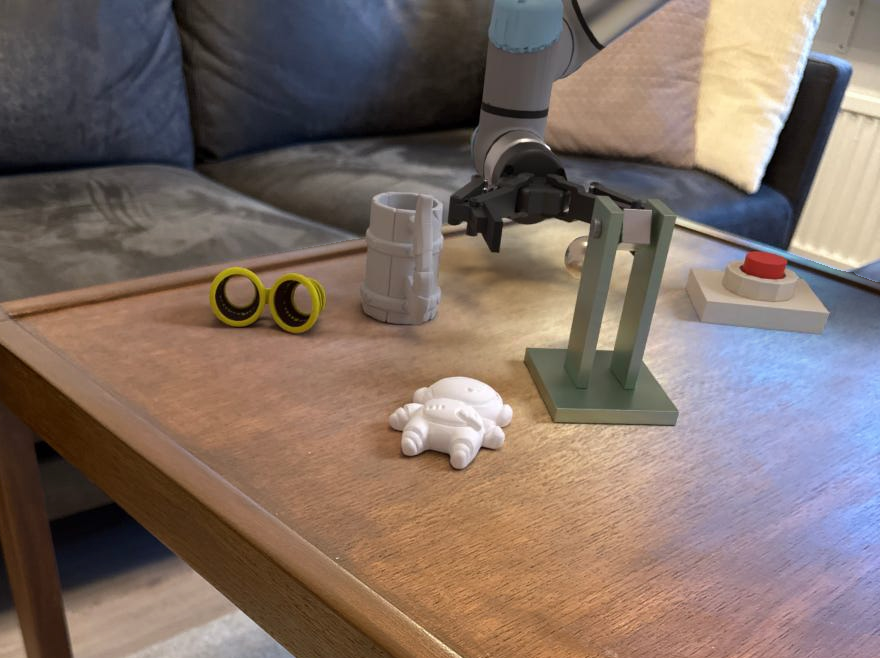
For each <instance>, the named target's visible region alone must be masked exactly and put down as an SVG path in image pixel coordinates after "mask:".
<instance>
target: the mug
mask: <svg viewBox="0 0 880 658" xmlns="http://www.w3.org/2000/svg"><path fill="white" fill-rule="evenodd" d="M370 205H371V206H370V217H369V227H368V228H367V229H366V231H365V243H366V245H367V250H366V261H365V271H364V278H363V280H362V281H361V283H360V285H359V286H360V287H359V295H360V297H361V300H362V310H363V312H364V313H365V314H366V315H367V316H369V317H370V318H373V319H375V320H376V321H381V322H383V323H385V322H387V323H389V324H395V325H413V326H419V325H422V324H423V323H427V322H429V320H433V319H434V318H435V317H436V315H437V310H438V309H437V308H438V306H439V305H440V303H441V300H442V289H441V288H440V286H439V276H440V275H439V274H440V262H441V261H440V260H441V252H442V251H443V249H444V240H445V238H444V235H443V233H442V227H443V226H442V225H443V211H444V204H443V203H442V202H441V201H440V200H438V199H437V198H436V197H434V196H433V195H430V194H424V193H418V192H404V191H403V192H402V191H401V192H400V191H398V192H397V191H386V192H381V193H378V194H376V195H373V197H372V199H371V204H370Z"/></svg>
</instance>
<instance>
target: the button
mask: <svg viewBox="0 0 880 658" xmlns="http://www.w3.org/2000/svg"><path fill="white" fill-rule="evenodd" d="M744 260H745V261H744V264H743V268H742V272H744V273H746V274H748V275H751V276H754V277H758V278H763V279H773V280H777V279H782V277H783V274H784V271H785V268H787V265H788V260H787V258H785V257H784V256H782V255H779V254H777V253H773V252H767V251H756V250H755V251H749V252H747V253H746V254H745V257H744Z"/></svg>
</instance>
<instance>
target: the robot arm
mask: <svg viewBox="0 0 880 658" xmlns="http://www.w3.org/2000/svg"><path fill="white" fill-rule="evenodd" d="M672 1H673V0H494V1H493V2H494V3H493V8H492V14H491V19H490V24H489V26H488V36H487V37H488V43H487V44H488V45H487V51H486V52H487V53H486V64H485V73H484V82H483V91H482V100H481V107H480V112H479V113H480V114H479V122H478V125H477V126H476V127H475V129H474V132H473V133H472V136H471V141H470V154H471V161H472V163H473V167H474V169H475V174H472V175H471V177H470V181H469V182H468V183H466V184H465V185H464V186H462V187H461V188H459V189H458V190H456V191H455V192H454V193H452V194H451V195H450V196H449V204H448V214H447V224H448V225H450V226H452V227H455V226H460V225H461V224H462V223H463V222H465V223H466V229H465V236H468V237H478V234H481V236H482V238H483V240H484V242H485V244H486V245H487V248H488V250H489V251H490V253H492V254H500V251H501V242H502V236H503V229H504V220H503V219H507V220H510V221H512V222H514V223H516V224H520V225H526V226H529V225H536V224H539V223H542V222H544V221H546V220H552V219H556V220H559V221H562V222H565V223H567V224H571V223H574V222H578V221H579V222H581V223H585V224H588V225H590V224H591V220H592V215H593V210H594V204H595V199H596V196H609V198H610V199H611V200H612V201H613V202H614V203H615V204H616V205H617V206H618V207H619V208H620V209H621V210H623V209H641V210H644V209H645V205H646V202H643V200H642V199H640V198H639V199H635V198H633V197H631V196H629V195H625V194H623V193H620V192H618V191H616V190H613V189H611V188H608V187H607V186H606V185H604V184H602V183H601V182H599V181H591V182H590V183H589V186H588V189H586V188H585V186H584V185H582V184H579V183H575V182H572V181H570V180H568V176H567V172H566V170H565V167H564V165H563V163H562V161H561V160H560V159H559V157H558V156H557V155H556V154H555V153H554V152H553V151H552V149H551V148H550V146H549V145H547V143H546V142H545V137H546V129H547V123H548V116H549V112H550V103H551V96H552V90H553V85H554V83H556V81H558V80H563V79H565V78H567V77H569V76H570V75H573V74H574V73H575V72H577V71H579V69H581V68H582V67H583V65H584V64H585V63H587V62H588V61H589V60H591V59H593V58H594V57H595V56H596V55H599V54H600V52H602V51H603V50H604V49H606V48H607V47H609V46H610V45H611V44H613V43H614V42H616V41H617V40H619V38H620V39H621V37H623V36H624V35H626V34H627V33H628V32H630V31H631V30H633V29H634V28H635V27H637V26H638V25H640V24H641V23H643V22H644V21H645V20H647V19H648V18H650V17H651V16H652V15H654V14H655V13H657V12H658V11H660V10H661V9H662V8H664V7H665V6H667V5H668V4H669V3H671V2H672ZM476 173H477V174H476ZM567 210H568V211H567ZM566 211H567V212H566ZM628 252H629V253H630V254H631V255H632V257H634V255H635V251H628Z"/></svg>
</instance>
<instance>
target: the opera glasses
mask: <svg viewBox="0 0 880 658" xmlns="http://www.w3.org/2000/svg"><path fill="white" fill-rule="evenodd" d="M237 276H241V277H245V278H247V279H248V280H249V281H250V282H251V283H252V285H253V288H254V295H253V298H252V299H251V301H250V302H249V303H248V304H246V305H236V304H234V303H233V302H232V301H231V300H230V299H229V298H228V296H227V292H226V289H227V284H228V282H229V281H230V280H231V279H232V278H234V277H237ZM300 285H302V286H304V288H306V290H307V292H308V293H309V295H310V299H311V311H310V313H307V312H303V311H302V310H300V309H299V307H298V306H297V305H296V302H295V292H296V290H297V288H298V287H299V286H300ZM208 301H209V305H210V307H211V310H212V312H213V314H214V315H215V317H217V319H219V320H220V321H221V322H222V323H224V324H226V325H228V326H231V327H236V328H240V327H241V328H242V327H245V326H249V325H252V324H253V323H254V322H256V321H257V320H258V319H259V318H260V317H261V315H262V314H263V313H264V309H265V306H266V305H268V307H269V311H270V314H271V317H272V318H273V320H274V321H275V323H276V324H277V325H278V326H279V327H280V328H282V330H283V331H284V330H285V332H289V333H292V334H301V333H304V332H307V331H309V330H310V329H311V328H312V327H313V326H314V324H315V323H316V322H317V320H318V317H319V315H321V314H322V312H323V311H324V309H325V307H326V304H327V303H326V302H327V295H326V291H325V288H324V287H323V286H322V284H321V283H320V282H319V281H317V279H314V278H311V277H306V276H304V275H303V274H300V273H296V272H289V273H285V274H283V275H281V276H280V277H278V278H277V279H276V280H275V281H274V282H273V284H272V286H271V287H270V288H268V287H266V286H264V285H263V282H262V281H261V279H260V278H259V277H258V275H256V273H254V272H253V271H251V270H249V269H248V268H244V267H239V266H233V267H227V268H226V269H223V270H222V271H220V272H219V273H218V274H217V275H216V276H215V277H214V279H213V280H212V282H211V285H210V287H209V292H208Z"/></svg>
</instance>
